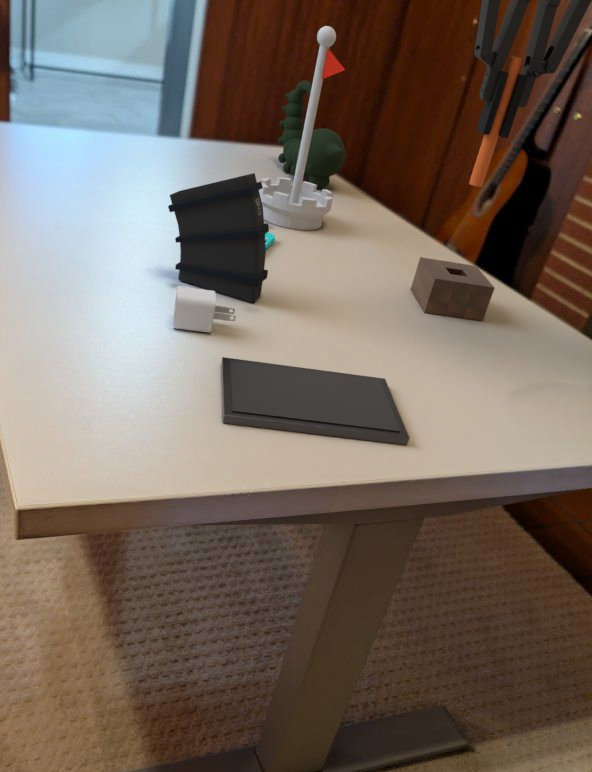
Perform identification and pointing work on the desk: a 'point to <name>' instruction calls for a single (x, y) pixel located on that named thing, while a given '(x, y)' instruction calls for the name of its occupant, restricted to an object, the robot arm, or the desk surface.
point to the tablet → (309, 401)
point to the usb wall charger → (198, 310)
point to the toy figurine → (323, 145)
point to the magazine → (222, 236)
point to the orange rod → (495, 124)
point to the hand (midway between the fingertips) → (492, 133)
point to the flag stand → (303, 160)
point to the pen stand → (451, 289)
